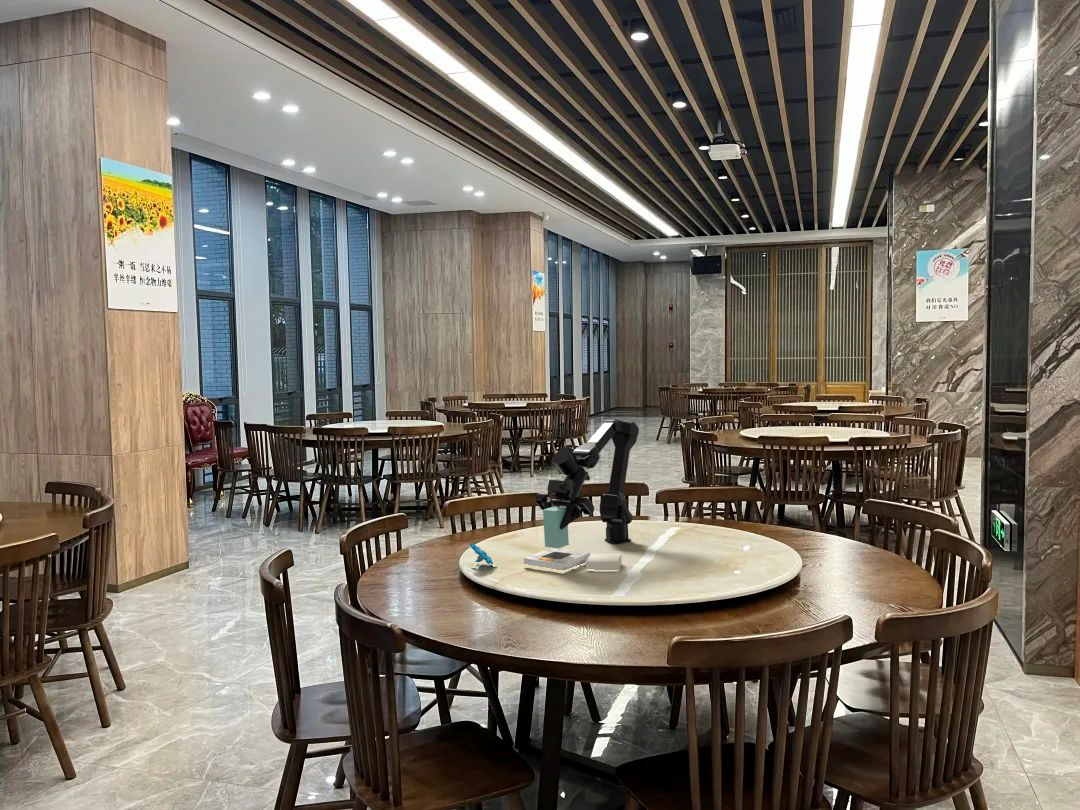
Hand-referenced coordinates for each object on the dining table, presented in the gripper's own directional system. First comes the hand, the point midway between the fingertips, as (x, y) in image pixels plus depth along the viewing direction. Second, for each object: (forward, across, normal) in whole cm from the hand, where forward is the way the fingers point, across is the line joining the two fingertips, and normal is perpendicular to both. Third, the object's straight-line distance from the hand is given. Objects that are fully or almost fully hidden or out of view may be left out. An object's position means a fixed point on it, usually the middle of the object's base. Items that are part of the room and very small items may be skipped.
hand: (553, 528), depth 258 cm
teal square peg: (+3, 0, +5) cm, 6 cm away
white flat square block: (+5, +14, +12) cm, 19 cm away
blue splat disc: (+15, -19, +1) cm, 25 cm away
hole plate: (+7, 0, +9) cm, 12 cm away
